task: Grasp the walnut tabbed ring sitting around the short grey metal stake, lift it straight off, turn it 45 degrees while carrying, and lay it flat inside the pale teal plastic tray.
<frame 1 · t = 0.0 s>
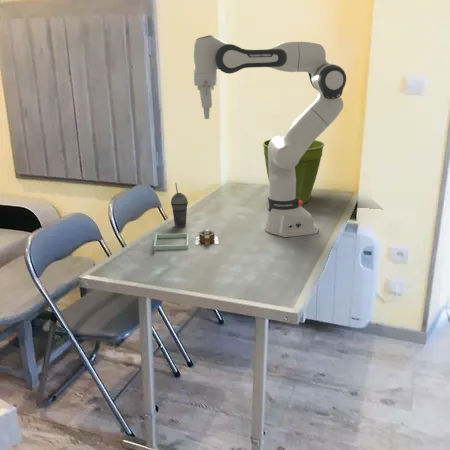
hand: (206, 117, 205), 48 cm above the table, fingers open, 8 cm apart
beverage cup: (180, 228, 226), on the table
plant pot: (291, 200, 264), on the table
tray: (171, 245, 207), on the table
ring: (206, 240, 210), point 1 cm above the table, touching stake
stake: (207, 242, 210), on the table
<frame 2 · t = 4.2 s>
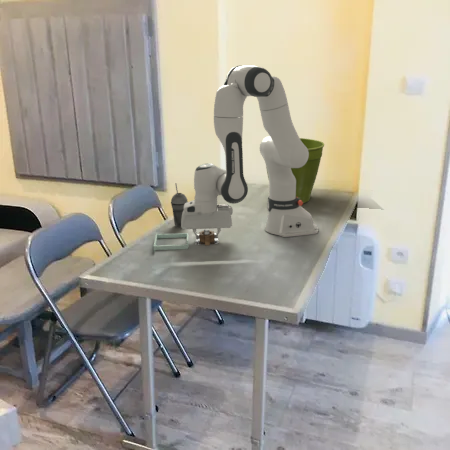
hand: (206, 238, 209), 2 cm above the table, fingers closed on ring, 6 cm apart
ring: (207, 240, 210), point 1 cm above the table, touching gripper, stake
everything else where it was.
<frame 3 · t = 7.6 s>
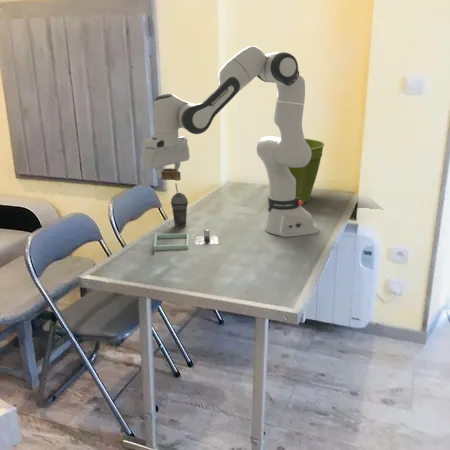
hand: (168, 176, 198), 28 cm above the table, fingers closed on ring, 6 cm apart
ring: (168, 177, 198), point 27 cm above the table, touching gripper
everything else where it was.
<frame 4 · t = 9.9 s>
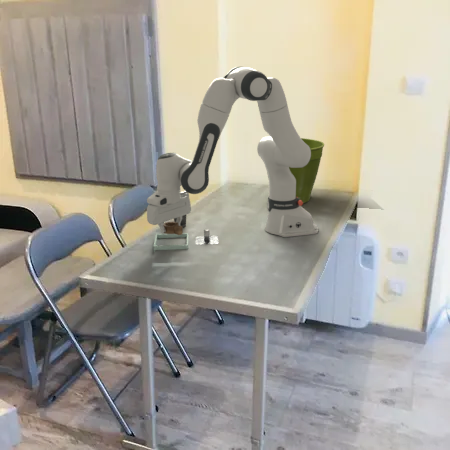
hand: (170, 229, 205), 7 cm above the table, fingers closed on ring, 6 cm apart
ring: (170, 231, 205), point 6 cm above the table, touching gripper
everything else where it was.
when the fingers open (3 cm above the table, at t = 11.4 s): ring drops 1 cm, resting on tray.
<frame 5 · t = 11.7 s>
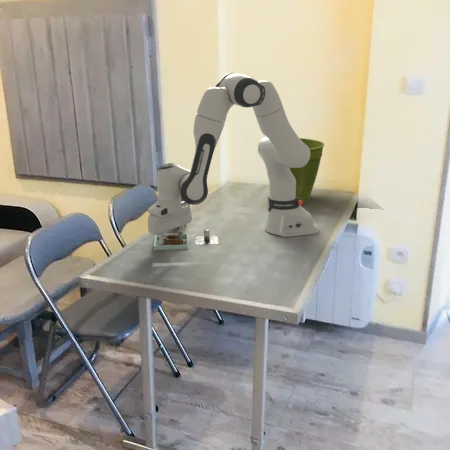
hand: (171, 239, 207), 3 cm above the table, fingers open, 8 cm apart
ring: (171, 244, 207), resting on tray
everything else where it was.
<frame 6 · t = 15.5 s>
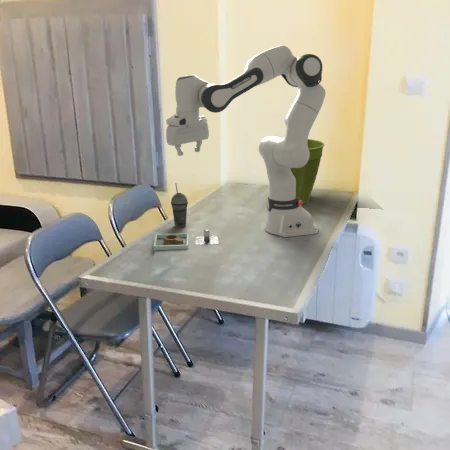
hand: (189, 153, 208), 34 cm above the table, fingers open, 8 cm apart
nothing on the table moved.
at the end: ring inside the target area on the tray (0.1 cm from its centre), point 0.5 cm above the tray's base; ring tilted 0°; the gripper is holding nothing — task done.
